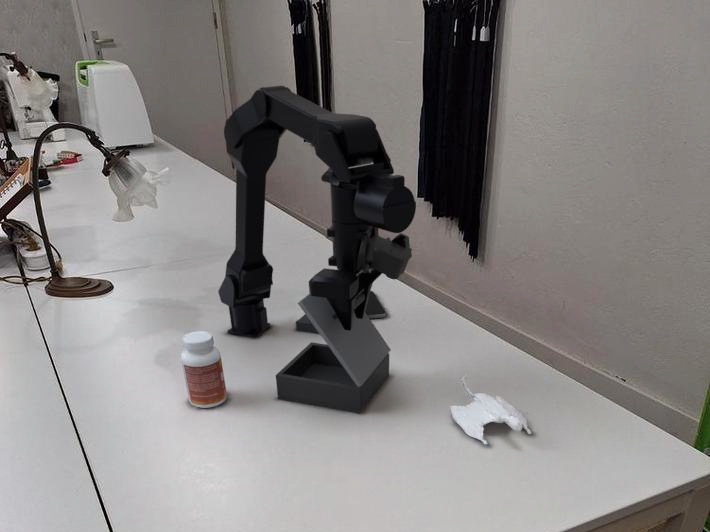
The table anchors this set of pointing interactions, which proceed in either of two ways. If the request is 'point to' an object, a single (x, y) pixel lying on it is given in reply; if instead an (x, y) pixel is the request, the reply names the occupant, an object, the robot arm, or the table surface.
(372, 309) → the smartphone
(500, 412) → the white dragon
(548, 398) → the table surface
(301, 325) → the switch block
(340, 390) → the open square tray
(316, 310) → the box lid with handle
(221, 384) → the pill bottle
